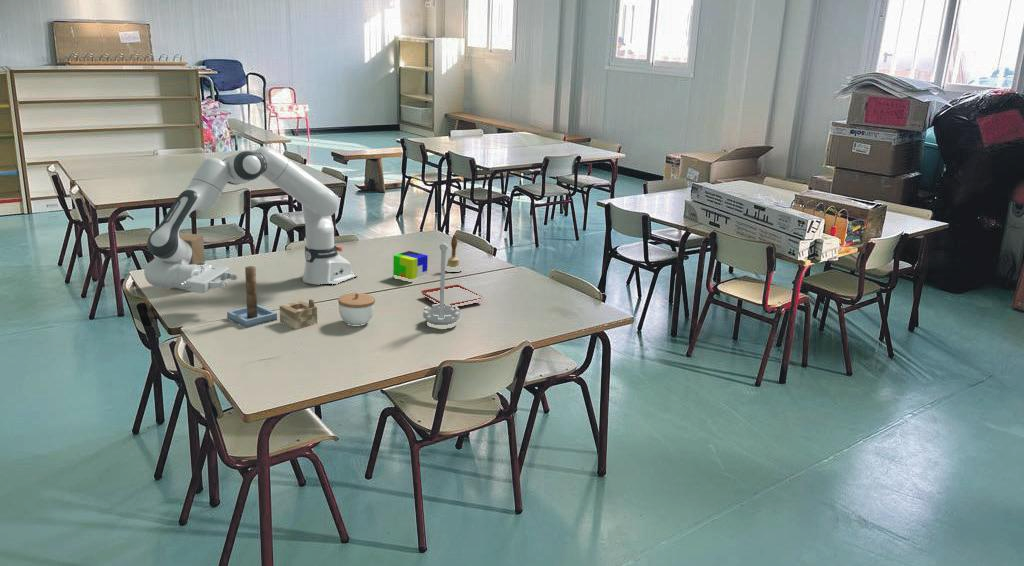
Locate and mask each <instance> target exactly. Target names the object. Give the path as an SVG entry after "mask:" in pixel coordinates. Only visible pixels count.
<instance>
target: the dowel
mask: <svg viewBox="0 0 1024 566" xmlns="http://www.w3.org/2000/svg"><path fill="white" fill-rule="evenodd" d="M244 270H245V271H244V272H245V273H244V275H245V293H246V294H245V295H246V296H245V297H246V307H247V318H249V319H252V318H256V317H257V304H258V296H257V293H258V292H257V290H258V289H257V271H256V270H257V267H256V266H253V265H249V266H246V267H245V268H244Z"/></svg>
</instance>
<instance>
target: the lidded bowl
mask: <svg viewBox="0 0 1024 566" xmlns="http://www.w3.org/2000/svg"><path fill="white" fill-rule="evenodd" d="M337 300H338V301H337V302H338V309H339V310H338V312H339V315H340V318H341V319H342V320H343V321H344V322H345V324H346V323H347V324H350V325H361V324H365V323H367V324H368V322H370V321H371V319H372V318H373V317H374V314H375V313H374V311H375V306H376V305H375V304H376V303H375V302H376V297H374V296H373V295H372V294H368V293H363V292H351V293H345V294H342V295H340V296H339V297H338V299H337ZM347 324H346V325H347Z"/></svg>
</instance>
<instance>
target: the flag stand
mask: <svg viewBox="0 0 1024 566" xmlns="http://www.w3.org/2000/svg"><path fill="white" fill-rule="evenodd" d="M448 249H449V245H448V244H447V243H446V242H441V243H440V244H439V250H440V251H441V253H440V255H441V258H440V285H439V286H440V306H439V304H435V303H432V304H431V307H430V306H428V305H427V306H425V307H423V312H422V317H423V319H425V322H426V321H427V322H429V323H431V324H434V325H448V324H452V323H454V322H456V321H457V322H458V320H459V319H460V317H461V313H460V312H461V311H460V307H455V308H452V305H448V304H445V307H444V289H445V285H446V282H445V281H446V272H445V267H446V258H447V257H446V256H447V253H446V252H447V250H448ZM444 315H445V318H444ZM438 317H439V318H438Z"/></svg>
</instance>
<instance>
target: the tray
mask: <svg viewBox="0 0 1024 566" xmlns="http://www.w3.org/2000/svg"><path fill="white" fill-rule="evenodd" d="M226 317H227V318H228V320H229V319H230V321H231V320H232V322H233V321H234V323H235V324H238V325H239V324H240V326H241V325H242V326H241V327H243V326H244V328H245V327H246V329H248V328H251V327H256V326H259V324H260V325H264V324H266V323H271V322H275V321H278V313H277V312H275V311H273V310H270V309H268V308H267V307H264V306H262V305H260V304H258V303H257V317H256V318H252V319H249V318H247V306H245V307H242V308H238V309H233V310H229V311H227V312H226ZM227 318H226V319H227ZM274 320H275V321H274ZM270 321H271V322H270ZM263 323H264V324H263Z"/></svg>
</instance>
